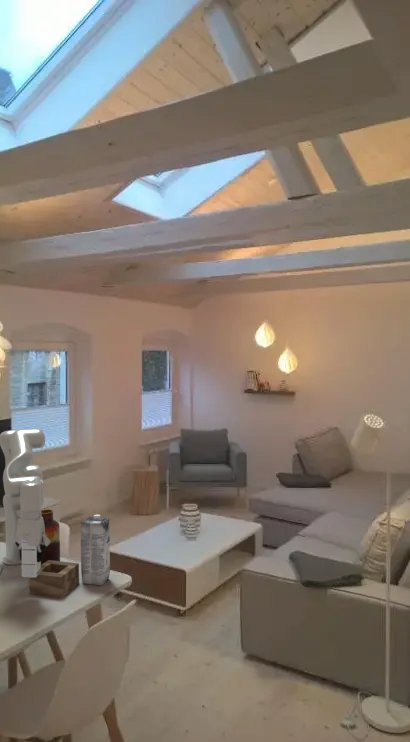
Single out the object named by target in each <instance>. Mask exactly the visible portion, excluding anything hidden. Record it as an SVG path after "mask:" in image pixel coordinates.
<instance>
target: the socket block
mask: <svg viewBox="0 0 410 742" xmlns="http://www.w3.org/2000/svg"><path fill="white" fill-rule="evenodd" d="M28 584H29V585H28V588H29V589H28V592H29V593H28V594H29V595H38V596H47V597H54V598H63V597H64V596H65V595H66V594H68V593H69V592H70V591H71V590H72V589H74V588H75V587H76V586H78V584H80V564H79V563H77V562H70V561H69V562H68V561H61V560H60V561H52V560H48V561H46V562H45V563H43V564H42V565H41V572H40V573H39V574H38V576H37V577H36V578H35V577H28Z"/></svg>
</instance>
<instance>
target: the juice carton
mask: <svg viewBox="0 0 410 742" xmlns="http://www.w3.org/2000/svg"><path fill="white" fill-rule="evenodd" d="M110 538H111V537H110V518H109V517H101V514H94V515H93V516H88V517H87V518H85V519H84V520H81V522H80V571H81V572H80V573H81V580H82V584H87V585H96V586H102V585H104V583H106V581H108V580H109V577H110V574H111V573H110V572H111V559H110V558H111V555H110V552H111V549H110V545H111V543H110V542H111V541H110Z"/></svg>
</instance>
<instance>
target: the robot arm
mask: <svg viewBox="0 0 410 742" xmlns="http://www.w3.org/2000/svg"><path fill="white" fill-rule="evenodd" d="M45 445H46V436H45V433H44V431H43V430H42V429H40V428H28V429H26V428H25V429H11V430H5V431H3V432H1V433H0V448H1V450H2V452H3V455H4V460H5V462H4V463H5V467H4V470H3V475H2V482H3V489H4V495H3V498H2V504H3V510H4V516H5V517H4V518H5V519H4V520H5V553H6V554H5V556H3V558H2V563H3V564H4V565H5V564H6V565H9V566H10V565H11V566H16V565H22V540H26V541H27V545H31V546H37V549H38V552H37V562H40V561H42V560H43V550H44V549H45V548H46V547H47V546H48V545H49V544H50V543H51V541H50V540H49V539H48V538H47V537H46V536H45V526H44V521H43V517H41V510H42V507H43V506H44V502H45V501H44V500H45V499H44V498H45V496H44V474H43V469H42V467H41V466H40V465H38V464H32V463H34V459H35V456H34V451H33V450H34V449H35V450H36V449H42V448H44V447H45ZM43 542H45V544H44V545H43Z"/></svg>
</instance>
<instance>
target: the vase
mask: <svg viewBox="0 0 410 742" xmlns="http://www.w3.org/2000/svg"><path fill="white" fill-rule="evenodd" d="M41 517H43V521H44V526H45V536H46V537H47V538H48V539H49V540H50V541H51V543H50V544H49V545H48V546H47V547H46V548H45V549H44V550H43V560H42V561H41V565H42V564H43V563H45V562H46V561H48V560H52V561H61V532H60V531H61V530H60V527H61V526H60V523H59V522H58V520H56V519H54V510H53V509H50V508H49V509H48V508H47V509H41ZM44 544H45V542H43V545H44Z"/></svg>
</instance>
